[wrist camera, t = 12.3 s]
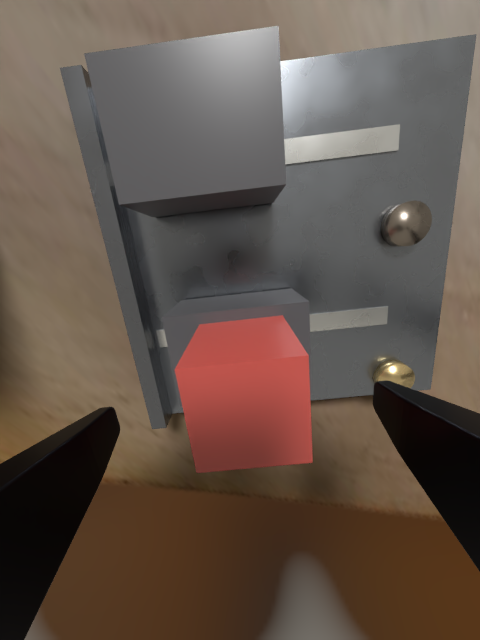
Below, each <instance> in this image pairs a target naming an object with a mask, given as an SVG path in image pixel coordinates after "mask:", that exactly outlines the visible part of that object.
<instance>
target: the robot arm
mask: <svg viewBox="0 0 480 640" xmlns="http://www.w3.org/2000/svg"><path fill="white" fill-rule="evenodd" d="M373 406H374V409H375V411H376V413H377V415H378V417H379V419H380V420H381V422H382V424H383V426H384V428H385V429H386V431H387V433H388V435H389V437H390V439H391V440H392V442H393V444H394V446H395V447H396V449H397V451H398V453H399V454H400V456H401V457H402V459H403V460H404V462H405V463H406V465H407V466H408V467H409V469H410V470H411V472H412V473H413V475H414V476H415V478H416V479H417V481H418V482H419V484H420V485H421V486H422V488H423V489H424V491H425V492H426V494H427V495H428V497H429V498H430V500H431V501H432V502H433V504H434V505H435V507H436V508H437V510H438V511H439V513H440V514H441V516H442V517H443V519H444V520H445V521H446V523H447V524H448V526H449V527H450V529H451V530H452V532H453V533H454V535H455V536H456V537H457V539H458V540H459V542H460V543H461V545H462V546H463V548H464V549H465V551H466V552H467V553H468V555H469V556H470V558H471V559H472V561H473V562H474V564H475V565H476V567H477V568H478V570H479V571H480V414H479V413H477V412H474V411H471V410H468V409H466V408H463V407H460V406H457V405H455V404H452V403H449V402H446V401H444V400H441V399H438V398H435V397H433V396H430V395H427V394H424V393H422V392H419V391H416V390H413V389H411V388H408V387H405V386H402V385H400V384H397V383H394V382H391V381H388V380H385V381H377V382H375V384H374V391H373ZM119 433H120V425H119V422H118V418H117V415H116V412H115V409H114V408H113V407H104V408H99V409H98V410H96V411H94V412H92V413H90V414H89V415H87V416H85V417H83V418H81V419H80V420H78V421H76V422H74V423H73V424H71V425H69V426H67V427H65V428H64V429H62V430H60V431H58V432H56V433H55V434H53V435H51V436H49V437H48V438H46V439H44V440H42V441H40V442H39V443H37V444H35V445H33V446H31V447H30V448H28V449H26V450H24V451H23V452H21V453H19V454H17V455H15V456H14V457H12V458H10V459H8V460H7V461H5V462H3V463H1V464H0V640H24V639H25V637H26V635H27V632H28V631H29V628H30V627H31V624H32V622H33V620H34V618H35V616H36V614H37V612H38V610H39V608H40V606H41V604H42V602H43V600H44V598H45V596H46V593H47V592H48V589H49V587H50V585H51V583H52V581H53V579H54V577H55V575H56V573H57V571H58V569H59V566H60V565H61V563H62V561H63V559H64V557H65V554H66V552H67V550H68V548H69V546H70V544H71V542H72V540H73V538H74V536H75V534H76V532H77V530H78V528H79V526H80V524H81V521H82V519H83V517H84V515H85V513H86V511H87V509H88V507H89V505H90V503H91V501H92V499H93V497H94V495H95V493H96V491H97V489H98V486H99V484H100V482H101V480H102V478H103V475H104V473H105V470H106V468H107V465H108V462H109V460H110V457H111V455H112V452H113V449H114V447H115V444H116V441H117V439H118V436H119Z"/></svg>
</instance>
